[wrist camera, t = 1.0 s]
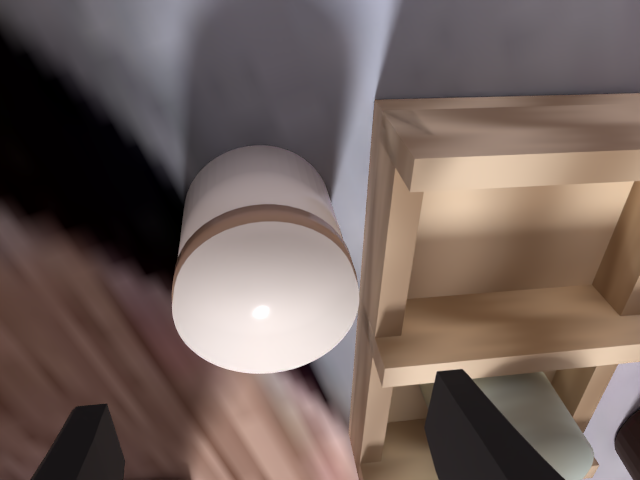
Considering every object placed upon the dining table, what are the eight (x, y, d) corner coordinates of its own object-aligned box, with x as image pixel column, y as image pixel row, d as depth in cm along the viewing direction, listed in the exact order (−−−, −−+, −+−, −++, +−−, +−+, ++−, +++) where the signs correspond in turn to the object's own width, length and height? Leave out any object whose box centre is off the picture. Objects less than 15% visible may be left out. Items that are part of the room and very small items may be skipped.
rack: (346, 422, 27) (375, 554, 22) (374, 99, 17) (440, 197, 12) (545, 400, 28) (618, 519, 23) (672, 92, 19) (846, 175, 14)
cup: (191, 271, 20) (182, 382, 16) (174, 143, 17) (156, 236, 13) (327, 262, 21) (354, 366, 17) (332, 138, 18) (368, 224, 14)
